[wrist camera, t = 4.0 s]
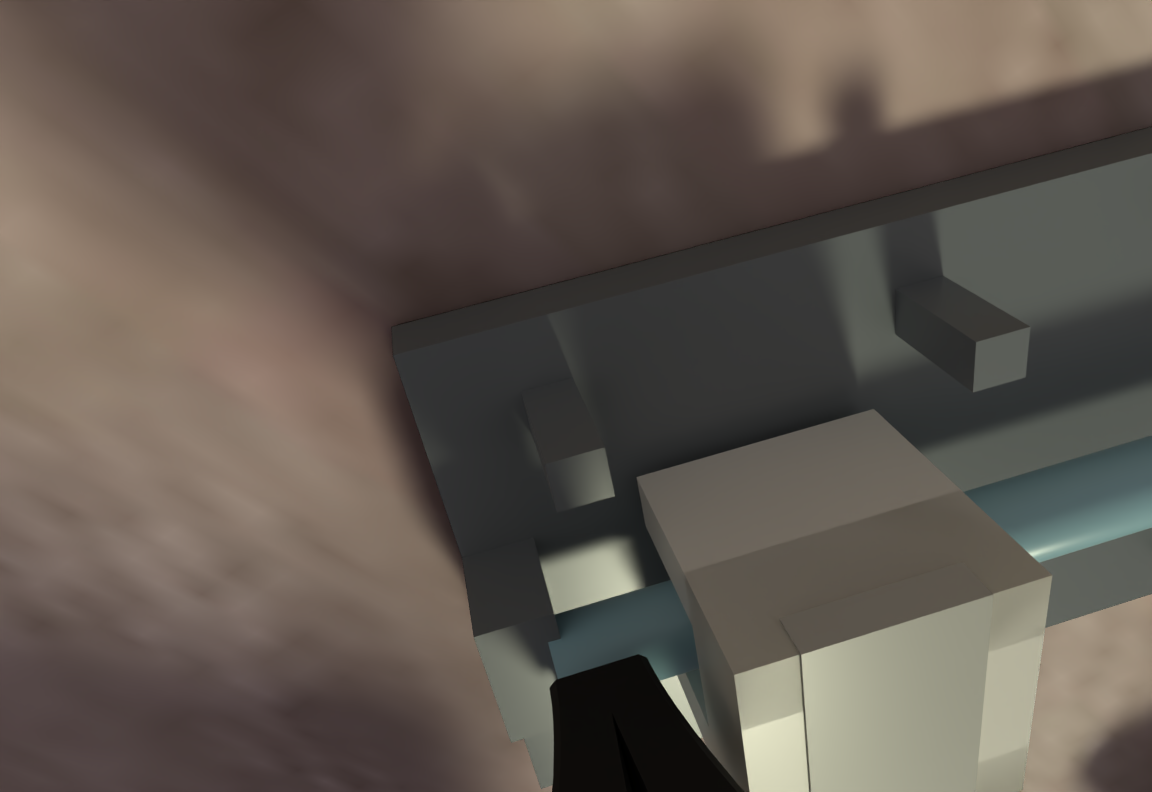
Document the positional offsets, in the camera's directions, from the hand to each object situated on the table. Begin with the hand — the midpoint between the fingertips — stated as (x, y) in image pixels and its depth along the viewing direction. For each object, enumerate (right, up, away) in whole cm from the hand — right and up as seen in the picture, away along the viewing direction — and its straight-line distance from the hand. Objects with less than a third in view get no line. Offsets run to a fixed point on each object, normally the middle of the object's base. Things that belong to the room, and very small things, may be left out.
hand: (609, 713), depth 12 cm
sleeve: (+3, +2, +2) cm, 4 cm away
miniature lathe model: (+8, +4, +4) cm, 10 cm away
